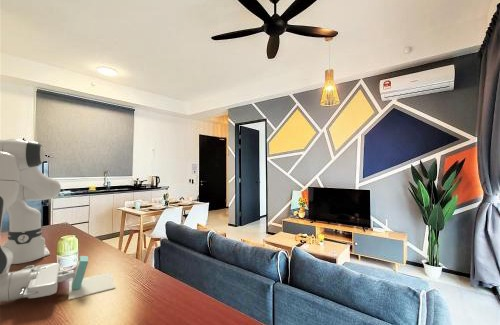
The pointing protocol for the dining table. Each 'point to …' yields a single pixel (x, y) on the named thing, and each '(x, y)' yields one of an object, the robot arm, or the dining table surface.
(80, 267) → the slab
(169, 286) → the dining table surface
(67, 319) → the dining table surface
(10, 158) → the robot arm
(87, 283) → the mat
